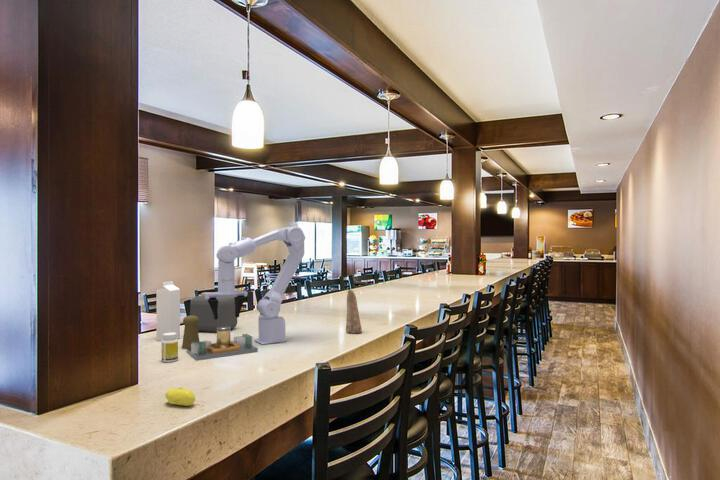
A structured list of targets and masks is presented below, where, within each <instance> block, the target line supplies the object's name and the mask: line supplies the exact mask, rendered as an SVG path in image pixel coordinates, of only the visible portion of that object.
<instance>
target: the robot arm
mask: <svg viewBox="0 0 720 480" xmlns="http://www.w3.org/2000/svg"><path fill="white" fill-rule="evenodd" d="M305 240H306V236H305V233H304V231H303V229H302V228H301V227H299V226H296V225H294V226H286V227H282V228H277V229H274V230H271V231H269V232H267V233H265V234H261V235H260V236H258V237H255V238H251V237H245V236H243V237H241V238H240V240H238V241H235V242H234V241H233V243H232V242H229V243H228V245H226V246H225V245H224V246H220V248H219V249H218V250H217V252H216V258H217V259H218V263H217V291H214V292H213V293H205V292H204V293H205V299H207V300H208V302H209V304H210V306H211V309H212V312H213V316H214V319H218V312H217V309H218V300H217V299H216V298H227V297H234V300H235V317H237V318H239V317H240V314H241V310H242V307H243V305H244V302H245V300H246V297H248V290H236V285H235V284H236V283H235V281H236V280H235V279H236V278H235V277H236V276H235V275H236V274H235V271H236V268H235V267H236V266H235V261H236V259H240V258H241V257H245V256H247V255H250V254H251V253H254V252H255V250H256V249H257V248H258V247H261V246H263V245H266V244H269V243H271V242H275V241H279V242H280V241H282V242H283V243H284V244H285V245H286V247H287V250H288V252H289V254H288V255H287V257H286V259H285V261H284V263H283V265H282V267H281V268H280V270H279V272H278V274H277V276H276V278H275V280H274V281H273V283H272V285H271V287H270V288H269V291H267V292H266V293H265V295H264V296H263V297H262V298H261V299H260V300H259V301H258V303H257V306H256V309H257V311H258V312H259V315H258V338H254V341H255V342H257V343H259V344H261V345H268V344H269V345H270V344H275V343H276V344H277V343H283V342H287V339H286V320H285V317H284V316H279V314H280V311H281V309H280V308H281V304H282V302H283V296H284V294H285V292H286V290H287V288H288V286H289V284H290V283H291V280H292V278H293V276H294V274H295V273H296V271H297V269H298V267H299V265H300V263H301V261H302V260H303V257H304V255H305ZM222 295H233V296H222Z"/></svg>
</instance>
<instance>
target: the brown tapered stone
mask: <svg viewBox="0 0 720 480" xmlns="http://www.w3.org/2000/svg"><path fill="white" fill-rule="evenodd" d="M358 308H359V307H358V301H357V297H356V294H355V292H354V290H352V289H348V290H347V295H346V317H345V318H346V320H345V321H346V323H345V332H346V334H352V335H353V334H354V335H355V334H361V333H362V326H361V324H362V323H361V319H360V313H359V309H358Z"/></svg>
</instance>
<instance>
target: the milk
mask: <svg viewBox="0 0 720 480" xmlns="http://www.w3.org/2000/svg"><path fill="white" fill-rule="evenodd" d="M155 296H156V299H155V300H156V304H155V305H156V309H155V310H156V341H157V340H158V342H162V340H164V339H163V334H165V333H176V334H177V338H176V339H177V340H178V339H180V338H181V313H180V312H181V289H180V287H178V286H176V285H174V281H173V280H170V281H163V282H162V286H161V287H159V288H158V289H156V295H155Z"/></svg>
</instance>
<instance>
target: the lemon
mask: <svg viewBox="0 0 720 480" xmlns="http://www.w3.org/2000/svg"><path fill="white" fill-rule="evenodd" d="M164 396H165V399H166V400H167V401H168V402H167V403H169V404H170V405H178V406H184V407H190V406H192V405H193V404H194V403H195V401H196V395H195V393H194V392H193V390H192V391H191V389H188V388H184V387H176V388H170V389H168V390H167V391H166V392H165V394H164Z"/></svg>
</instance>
